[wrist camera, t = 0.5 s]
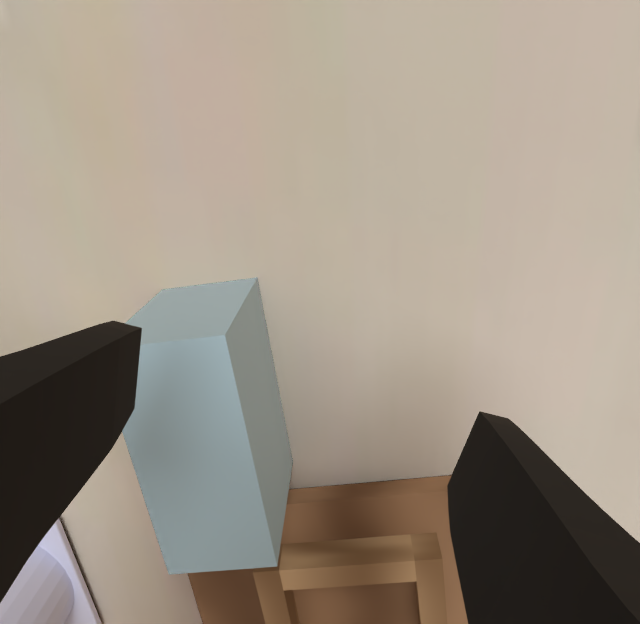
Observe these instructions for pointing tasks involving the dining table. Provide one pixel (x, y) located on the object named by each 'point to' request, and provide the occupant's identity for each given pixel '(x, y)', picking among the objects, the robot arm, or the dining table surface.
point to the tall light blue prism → (210, 428)
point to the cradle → (349, 561)
